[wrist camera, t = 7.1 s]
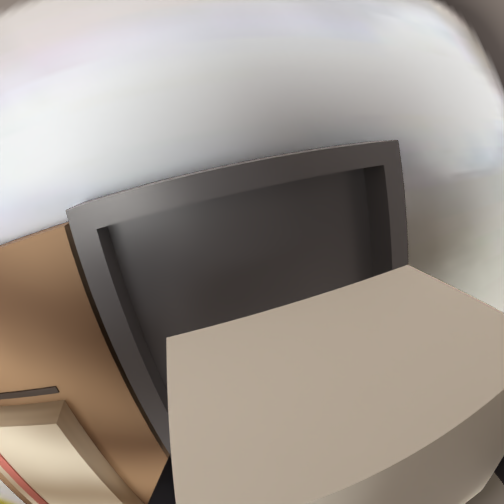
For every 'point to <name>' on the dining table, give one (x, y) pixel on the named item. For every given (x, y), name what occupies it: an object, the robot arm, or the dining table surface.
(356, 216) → the tray
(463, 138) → the dining table surface
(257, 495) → the stub
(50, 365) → the board
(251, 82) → the dining table surface
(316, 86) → the dining table surface
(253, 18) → the dining table surface
